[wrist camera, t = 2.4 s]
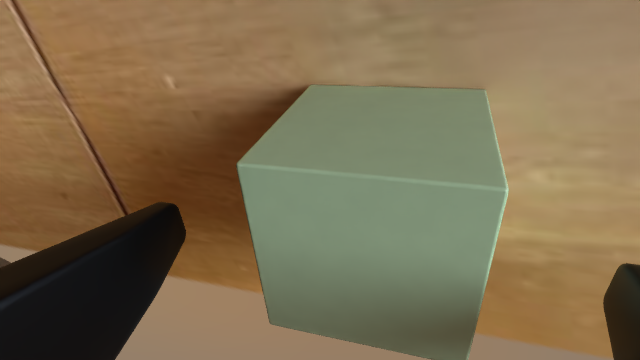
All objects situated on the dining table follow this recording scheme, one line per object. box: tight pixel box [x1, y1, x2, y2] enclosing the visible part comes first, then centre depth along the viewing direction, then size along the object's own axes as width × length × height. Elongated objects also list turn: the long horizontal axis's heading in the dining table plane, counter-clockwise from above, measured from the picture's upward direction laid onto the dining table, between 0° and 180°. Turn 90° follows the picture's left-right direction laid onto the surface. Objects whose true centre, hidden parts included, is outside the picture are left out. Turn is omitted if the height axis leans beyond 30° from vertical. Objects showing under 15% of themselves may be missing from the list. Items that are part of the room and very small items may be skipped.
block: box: [236, 85, 509, 360], centre depth 9 cm, size 4×4×4 cm
